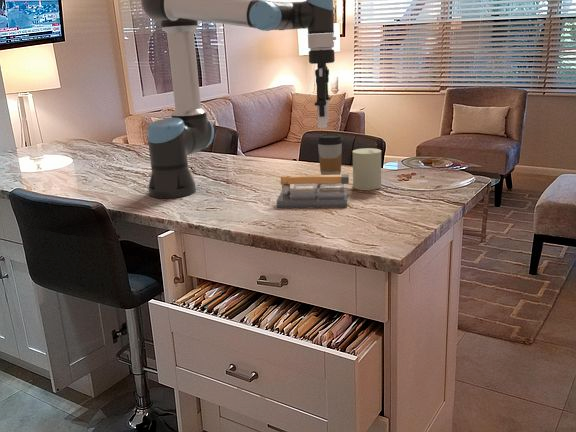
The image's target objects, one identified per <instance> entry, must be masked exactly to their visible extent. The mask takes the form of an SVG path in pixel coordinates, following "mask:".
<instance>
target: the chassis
mask: <svg viewBox="0 0 576 432" xmlns="http://www.w3.org/2000/svg"><path fill="white" fill-rule="evenodd" d="M293 185H294V186H293V188H291V184H281V191H280V194H279V196H278V197H277V200H276V207H277V209H279V208H280V209H283V208H284V209H285V208H287V209H289V208H290V209H292V208H296V209H298V208H348V195H349V192H348V190H349V189H348V187H345V184H342V183H327V184H320V185H319V184H293ZM318 186H320V187H318Z"/></svg>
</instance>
